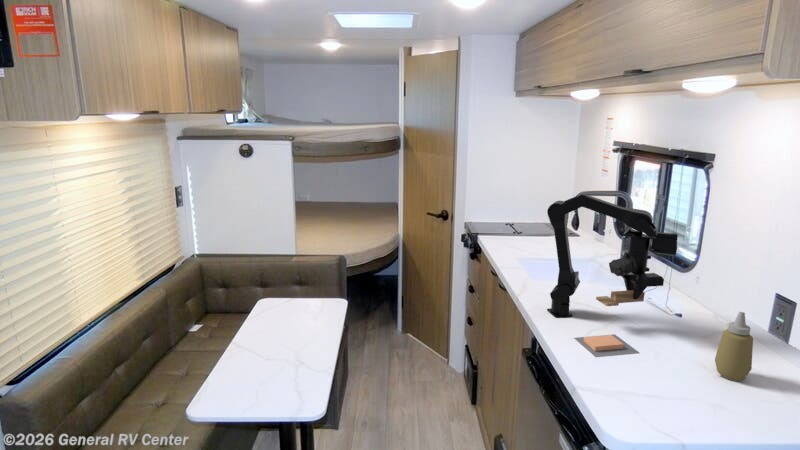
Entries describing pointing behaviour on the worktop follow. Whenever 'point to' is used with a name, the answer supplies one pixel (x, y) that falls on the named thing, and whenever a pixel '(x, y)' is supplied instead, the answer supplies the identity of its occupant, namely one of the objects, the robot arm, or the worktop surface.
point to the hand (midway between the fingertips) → (632, 297)
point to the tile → (603, 343)
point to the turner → (620, 298)
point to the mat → (626, 350)
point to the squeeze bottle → (735, 350)
